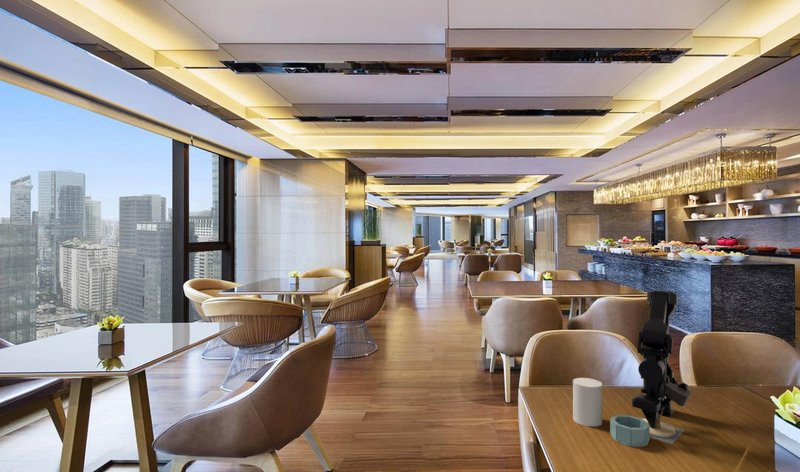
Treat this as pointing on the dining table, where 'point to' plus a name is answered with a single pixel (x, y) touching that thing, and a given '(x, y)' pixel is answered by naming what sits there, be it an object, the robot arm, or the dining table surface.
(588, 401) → the white cylinder
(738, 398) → the dining table surface
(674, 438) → the mat
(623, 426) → the grooved blue cylinder
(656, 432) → the lid
